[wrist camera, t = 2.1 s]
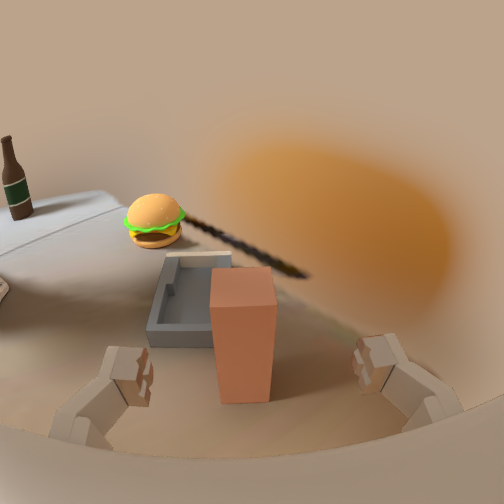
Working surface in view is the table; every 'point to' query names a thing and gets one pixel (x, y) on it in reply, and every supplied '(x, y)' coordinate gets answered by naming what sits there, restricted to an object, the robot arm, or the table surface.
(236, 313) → the post
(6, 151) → the beer bottle
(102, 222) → the table surface
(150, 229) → the hamburger
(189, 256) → the slot board
